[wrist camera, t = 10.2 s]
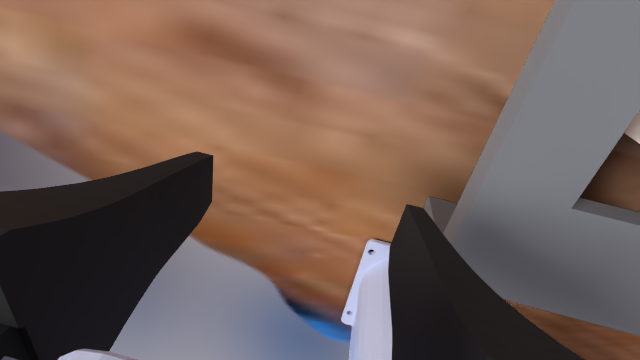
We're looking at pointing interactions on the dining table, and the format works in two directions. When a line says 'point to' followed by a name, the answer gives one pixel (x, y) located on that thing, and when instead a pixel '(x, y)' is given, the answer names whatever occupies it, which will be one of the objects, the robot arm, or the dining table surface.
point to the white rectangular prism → (634, 128)
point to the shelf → (558, 174)
